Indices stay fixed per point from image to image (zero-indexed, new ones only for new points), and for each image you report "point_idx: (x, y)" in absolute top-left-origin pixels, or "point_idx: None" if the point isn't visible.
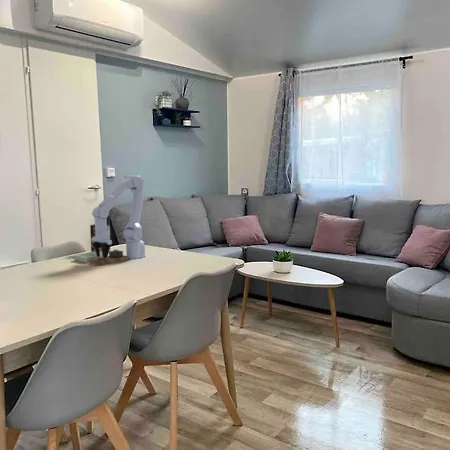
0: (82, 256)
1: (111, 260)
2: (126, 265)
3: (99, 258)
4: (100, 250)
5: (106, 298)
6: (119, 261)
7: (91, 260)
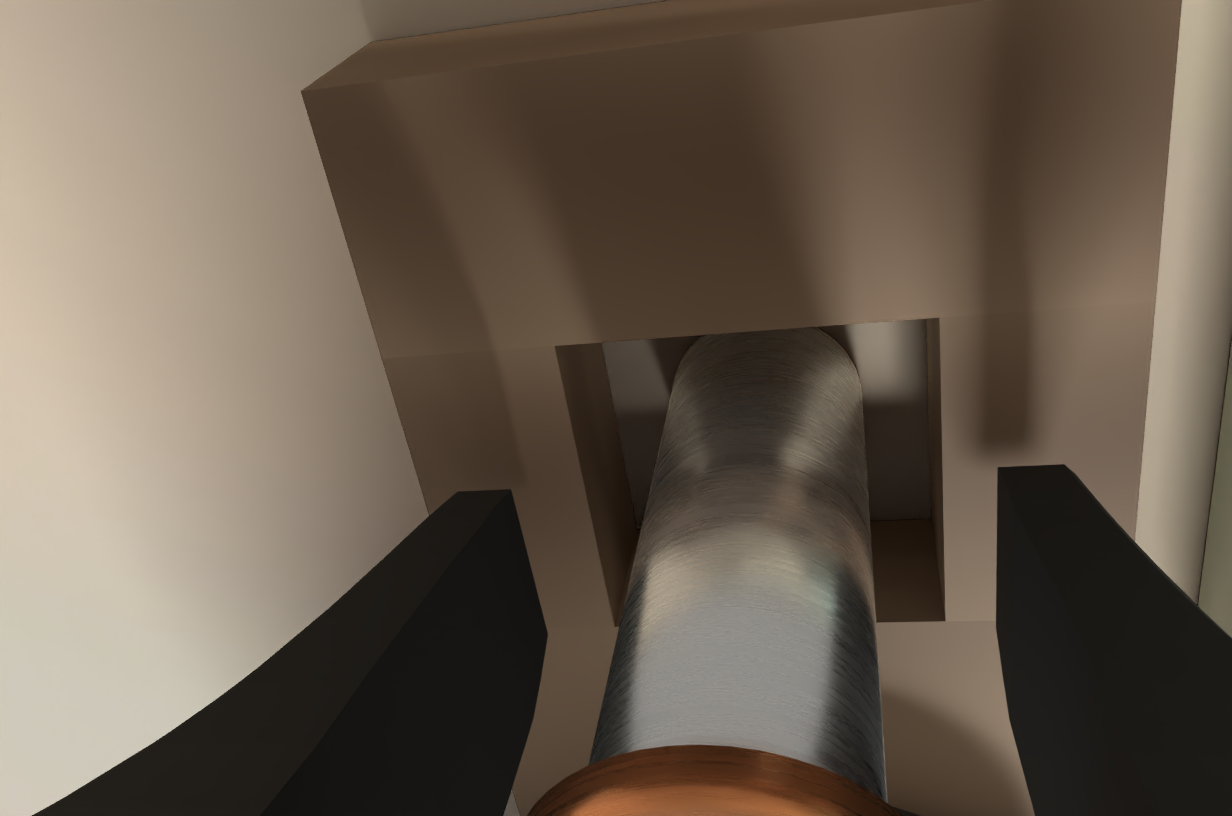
0: None
1: None
2: (5, 668)
3: None
4: (663, 744)
5: None
6: None
7: (940, 1)
